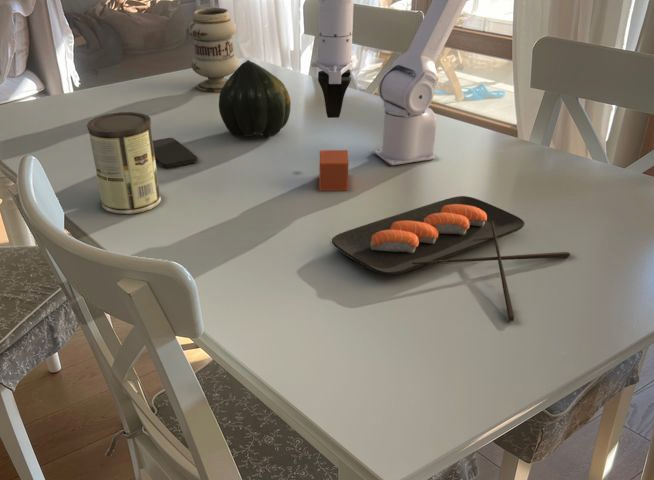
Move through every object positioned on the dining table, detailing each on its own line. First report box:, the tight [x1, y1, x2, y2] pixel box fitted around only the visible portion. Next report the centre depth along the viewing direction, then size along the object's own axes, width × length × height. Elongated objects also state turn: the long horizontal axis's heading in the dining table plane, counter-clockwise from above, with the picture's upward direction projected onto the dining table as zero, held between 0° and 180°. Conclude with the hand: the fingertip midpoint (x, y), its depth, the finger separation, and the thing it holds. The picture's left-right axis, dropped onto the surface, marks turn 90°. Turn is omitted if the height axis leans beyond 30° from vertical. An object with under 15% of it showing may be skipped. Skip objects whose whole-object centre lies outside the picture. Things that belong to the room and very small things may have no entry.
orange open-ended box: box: [318, 149, 349, 192], centre depth 127 cm, size 6×5×5 cm
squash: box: [218, 59, 292, 138], centre depth 149 cm, size 14×15×15 cm
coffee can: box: [86, 111, 162, 215], centre depth 120 cm, size 10×10×14 cm
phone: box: [153, 137, 198, 168], centre depth 142 cm, size 7×1×15 cm
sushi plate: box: [331, 195, 571, 322], centre depth 102 cm, size 29×30×4 cm
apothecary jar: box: [188, 7, 240, 93], centre depth 178 cm, size 12×12×18 cm
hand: (333, 115), depth 127 cm, fingers closed
